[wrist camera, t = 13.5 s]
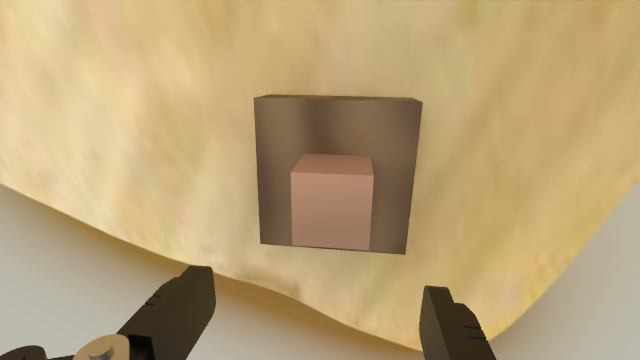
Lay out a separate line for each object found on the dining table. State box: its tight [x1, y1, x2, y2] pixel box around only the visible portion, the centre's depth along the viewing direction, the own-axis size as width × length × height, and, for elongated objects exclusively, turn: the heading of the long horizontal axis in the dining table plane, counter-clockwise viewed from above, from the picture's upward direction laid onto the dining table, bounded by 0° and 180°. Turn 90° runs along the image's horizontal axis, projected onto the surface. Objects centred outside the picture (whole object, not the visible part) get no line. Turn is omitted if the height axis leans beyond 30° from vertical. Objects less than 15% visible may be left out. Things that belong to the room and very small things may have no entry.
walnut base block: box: [254, 95, 423, 255], centre depth 27 cm, size 12×12×5 cm
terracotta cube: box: [291, 154, 374, 250], centre depth 22 cm, size 5×5×5 cm
